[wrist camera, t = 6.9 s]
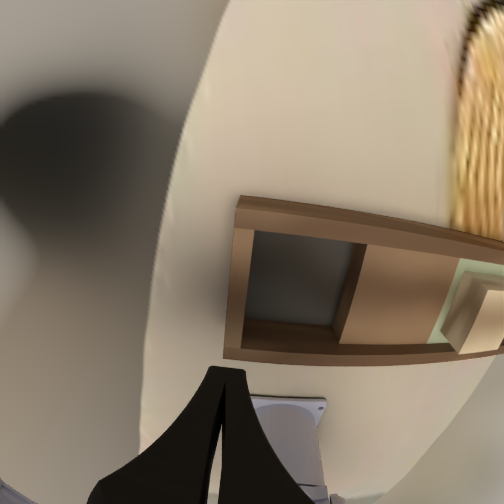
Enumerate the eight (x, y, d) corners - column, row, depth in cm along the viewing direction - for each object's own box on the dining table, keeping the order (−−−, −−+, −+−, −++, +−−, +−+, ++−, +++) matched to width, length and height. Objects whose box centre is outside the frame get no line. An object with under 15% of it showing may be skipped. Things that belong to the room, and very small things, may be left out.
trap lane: (502, 331, 21) (520, 350, 18) (228, 325, 21) (222, 358, 17) (534, 250, 18) (557, 264, 14) (240, 195, 17) (236, 207, 14)
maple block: (479, 329, 18) (497, 349, 15) (439, 330, 18) (458, 354, 15) (501, 275, 16) (524, 292, 13) (463, 270, 16) (487, 289, 13)
